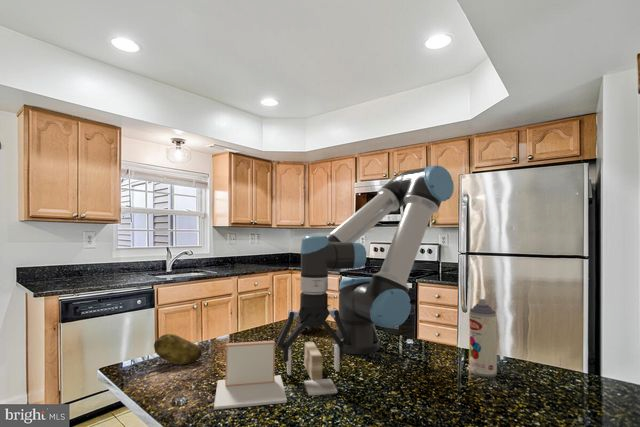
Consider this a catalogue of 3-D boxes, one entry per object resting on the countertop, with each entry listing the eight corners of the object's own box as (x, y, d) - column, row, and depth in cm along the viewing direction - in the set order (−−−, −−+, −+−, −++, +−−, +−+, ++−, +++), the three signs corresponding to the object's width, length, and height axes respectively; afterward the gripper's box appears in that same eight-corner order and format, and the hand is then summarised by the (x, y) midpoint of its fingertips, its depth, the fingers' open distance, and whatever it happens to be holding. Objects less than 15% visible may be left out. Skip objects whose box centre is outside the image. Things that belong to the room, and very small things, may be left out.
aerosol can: (464, 368, 103) (464, 297, 103) (486, 366, 104) (485, 297, 105) (479, 378, 96) (478, 302, 97) (502, 376, 97) (501, 301, 98)
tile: (273, 380, 92) (274, 340, 93) (274, 382, 91) (274, 342, 91) (225, 384, 90) (226, 343, 90) (225, 386, 88) (226, 345, 88)
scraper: (296, 365, 104) (296, 342, 104) (320, 363, 105) (320, 341, 105) (308, 395, 85) (309, 367, 85) (337, 392, 87) (337, 365, 87)
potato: (188, 370, 100) (188, 341, 100) (148, 365, 103) (149, 337, 103) (204, 359, 108) (205, 332, 108) (167, 355, 111) (168, 329, 111)
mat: (280, 377, 95) (280, 375, 95) (287, 402, 82) (287, 399, 82) (217, 382, 92) (217, 380, 92) (213, 409, 78) (213, 406, 78)
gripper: (269, 295, 92) (268, 380, 91) (361, 293, 98) (360, 373, 97) (267, 290, 100) (266, 369, 99) (352, 288, 105) (352, 363, 104)
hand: (313, 371), depth 98 cm, fingers open, 12 cm apart
